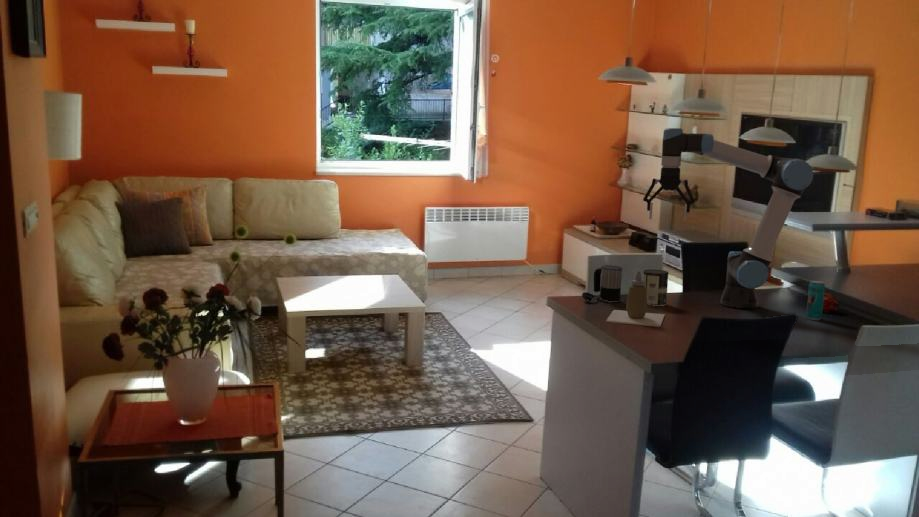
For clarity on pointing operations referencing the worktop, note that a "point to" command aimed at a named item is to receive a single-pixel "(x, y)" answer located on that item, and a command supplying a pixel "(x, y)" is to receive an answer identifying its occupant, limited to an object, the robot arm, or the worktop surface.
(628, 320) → the mat
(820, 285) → the beverage can
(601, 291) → the milk frother
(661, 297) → the coffee can
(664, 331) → the worktop surface
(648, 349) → the worktop surface
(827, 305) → the dragon fruit
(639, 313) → the squeeze bottle
